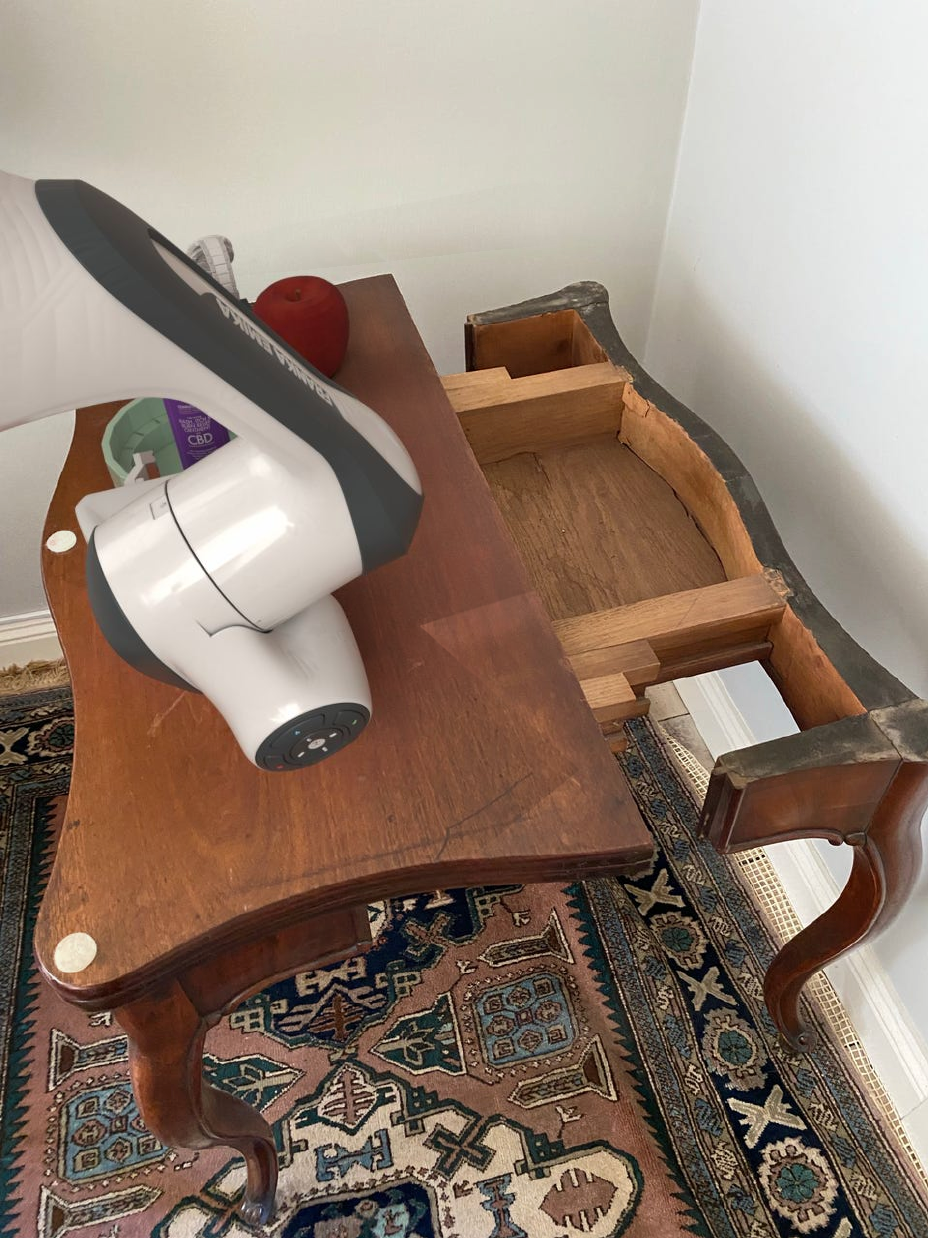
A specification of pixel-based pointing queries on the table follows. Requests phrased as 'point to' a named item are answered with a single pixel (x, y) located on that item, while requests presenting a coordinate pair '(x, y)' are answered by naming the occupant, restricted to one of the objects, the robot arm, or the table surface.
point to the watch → (216, 261)
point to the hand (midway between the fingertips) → (207, 444)
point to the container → (194, 432)
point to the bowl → (141, 439)
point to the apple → (308, 319)
